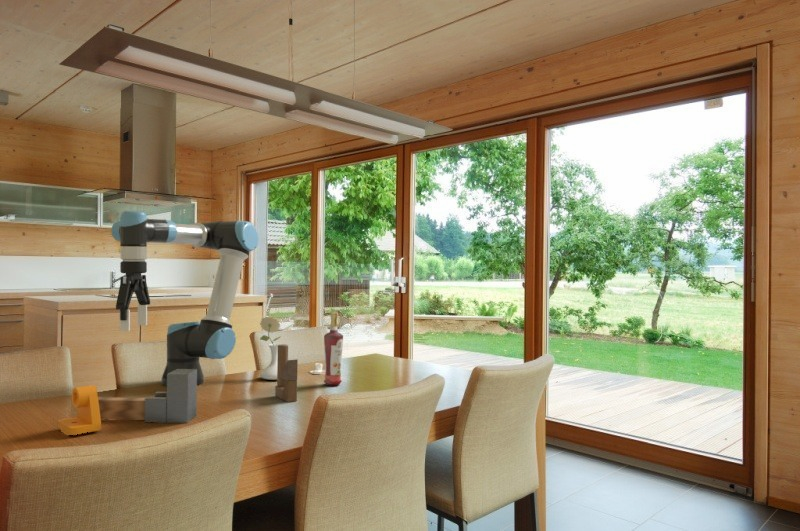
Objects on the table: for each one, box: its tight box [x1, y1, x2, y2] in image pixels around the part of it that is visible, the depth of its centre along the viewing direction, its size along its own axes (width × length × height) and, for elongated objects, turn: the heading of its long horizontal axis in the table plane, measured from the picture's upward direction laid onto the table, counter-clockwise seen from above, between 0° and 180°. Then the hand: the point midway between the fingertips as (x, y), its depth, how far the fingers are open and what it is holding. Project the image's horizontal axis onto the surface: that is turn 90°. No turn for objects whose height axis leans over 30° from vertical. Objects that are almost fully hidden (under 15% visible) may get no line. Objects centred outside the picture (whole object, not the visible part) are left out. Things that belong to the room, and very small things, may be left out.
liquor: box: [323, 311, 344, 387], centre depth 219 cm, size 7×7×28 cm
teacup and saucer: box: [309, 362, 325, 375], centre depth 244 cm, size 9×8×4 cm
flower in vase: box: [259, 315, 282, 381], centre depth 229 cm, size 13×11×25 cm
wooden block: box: [274, 343, 299, 403], centre depth 196 cm, size 4×11×18 cm, turn 34°
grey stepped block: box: [144, 369, 198, 424], centre depth 168 cm, size 9×12×14 cm
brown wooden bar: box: [98, 396, 146, 421], centre depth 168 cm, size 20×4×6 cm, turn 91°
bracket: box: [57, 384, 102, 436], centre depth 155 cm, size 11×7×12 cm, turn 49°
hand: (133, 327), depth 180 cm, fingers open, 13 cm apart
